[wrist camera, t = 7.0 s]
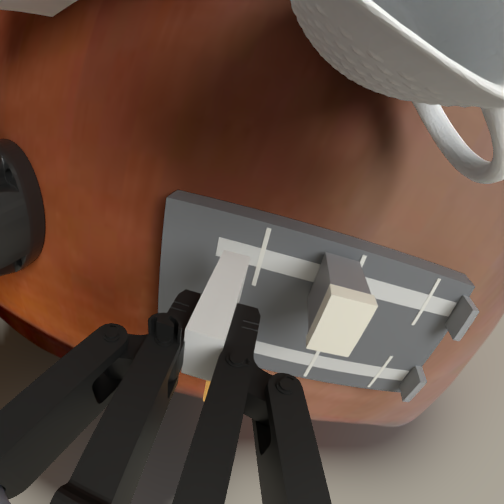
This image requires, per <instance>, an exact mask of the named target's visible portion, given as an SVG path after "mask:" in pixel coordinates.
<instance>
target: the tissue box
mask: <svg viewBox="0 0 504 504" xmlns="http://www.w3.org/2000/svg"><path fill="white" fill-rule="evenodd" d="M76 1H78V0H0V10H10V11H19V12H26V13H32V14H38V15H44V16H49V17H53V16H55V15H56V14H57V13H59V12H60V11H62V10H63V9H65V8H66V7H68V6H70V5H71V4H73V3H74V2H76Z"/></svg>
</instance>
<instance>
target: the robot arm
mask: <svg viewBox="0 0 504 504" xmlns="http://www.w3.org/2000/svg"><path fill="white" fill-rule="evenodd" d="M44 237H45V215H44V207H43V201H42V196H41V192H40V188H39V184H38V181H37V178H36V175H35V173H34V170H33V168H32V166H31V164H30V162H29V160H28V158H27V156H26V155H25V153H24V152H23V151H22V149H21V148H20V147H19V146H18V145H17V144H15V143H14V142H13V141H11V140H8V139H0V276H2V275H6V274H10V273H14V272H17V271H20V270H22V269H24V268H25V267H26V266H28V265H29V264H30V263H32V262H33V261H34V260H36V259H37V257H38V256H39V254H40V252H41V250H42V247H43V243H44ZM249 261H250V257H249V256H246V255H242V254H238V253H234V252H230V251H227V250H224V251H223V253H222V255H221V257H220V259H219V261H218V263H217V265H216V267H215V269H214V271H213V273H212V275H211V277H210V279H209V281H208V283H207V285H206V287H205V289H204V291H203V293H202V294H201V293H197V292H194V291H190V290H187V289H185V290H184V291H182V292H181V293H179V294H178V295H177V297H176V298H175V300H174V302H173V303H172V305H171V307H170V308H169V310H168V312H167V313H157V314H154V315H152V316H151V317H150V318H149V319H148V332H149V334H147V335H132V334H127V331H126V329H125V328H124V327H123V326H121V325H118V324H113V323H110V324H105V325H103V326H101V327H99V328H98V329H97V330H96V331H94V332H93V333H92V334H91V335H89V336H88V337H87V338H86V339H84V340H83V341H82V342H81V343H79V344H78V345H77V346H76V347H74V348H73V349H72V350H71V351H70V352H68V353H67V354H66V355H65V356H63V357H62V358H61V359H60V360H59V361H57V362H56V363H55V364H54V365H53V366H51V367H50V368H49V369H48V370H46V371H45V372H44V373H43V374H42V375H41V376H39V377H38V378H37V379H36V380H35V381H33V382H32V383H31V384H30V385H29V386H28V387H26V388H25V389H24V390H23V391H22V392H21V393H19V394H18V395H17V396H16V397H15V398H14V399H13V400H12V401H10V402H9V403H8V404H7V405H6V406H5V407H3V408H2V409H1V410H0V504H11V503H10V502H9V500H8V499H11V498H13V497H15V496H17V495H19V494H20V493H22V492H23V491H24V490H26V489H27V488H28V487H29V486H30V485H31V484H32V483H33V482H34V481H35V480H36V479H37V478H38V477H39V476H40V475H41V474H42V473H43V472H44V471H45V470H46V469H47V468H48V466H49V465H50V464H51V463H52V462H53V461H54V460H55V459H56V458H57V457H58V456H59V455H60V454H61V453H62V452H63V451H64V450H65V449H66V448H67V447H68V446H69V445H70V444H71V443H72V442H73V441H74V440H75V439H76V438H77V436H78V435H79V434H80V433H81V432H82V431H83V430H84V429H85V428H86V427H87V426H88V425H89V424H90V423H91V422H92V421H93V420H94V419H95V418H96V417H97V416H98V415H99V414H100V413H101V411H102V410H103V409H104V408H105V407H106V406H107V405H108V406H107V408H106V410H105V412H104V414H103V416H102V418H101V419H100V421H99V423H98V425H97V427H96V429H95V431H94V432H93V434H92V436H91V438H90V440H89V442H88V444H87V446H86V448H85V450H84V452H83V454H82V456H81V458H80V460H79V462H78V464H77V466H76V468H75V470H74V472H73V474H72V476H71V479H70V480H69V482H68V483H67V484H65V485H63V486H61V487H60V488H59V489H58V490H57V491H56V492H55V494H54V496H53V498H52V500H51V502H50V504H130V503H131V500H132V498H133V495H134V493H135V490H136V487H137V485H138V482H139V479H140V477H141V474H142V472H143V469H144V466H145V464H146V461H147V459H148V456H149V453H150V451H151V448H152V446H153V443H154V440H155V438H156V435H157V433H158V430H159V428H160V425H161V423H162V420H163V418H164V415H165V413H166V410H167V408H168V405H169V403H170V400H171V398H172V395H173V393H174V390H175V388H176V385H177V383H178V375H179V372H180V370H181V368H182V371H181V373H184V374H188V375H191V376H194V377H197V378H201V379H204V380H208V381H211V383H210V386H209V389H208V392H207V395H206V398H205V402H204V405H203V408H202V411H201V414H200V418H199V421H198V424H197V427H196V430H195V433H194V437H193V440H192V443H191V446H190V449H189V452H188V456H187V459H186V462H185V465H184V468H183V471H182V474H181V478H180V481H179V484H178V487H177V490H176V494H175V497H174V500H173V503H172V504H224V502H225V498H226V494H227V489H228V485H229V480H230V476H231V471H232V466H233V462H234V457H235V452H236V448H237V443H238V438H239V433H240V428H241V423H242V419H243V414H245V415H247V416H249V417H250V418H252V423H253V431H254V439H255V448H256V455H257V464H258V472H259V480H260V487H261V495H262V503H263V504H331V500H330V495H329V491H328V487H327V483H326V479H325V475H324V471H323V467H322V462H321V458H320V454H319V451H318V446H317V442H316V438H315V435H314V431H313V426H312V423H311V419H310V415H309V411H308V407H307V403H306V399H305V395H304V391H303V387H302V385H301V383H300V381H299V380H298V379H297V378H296V377H294V376H292V375H290V374H287V373H277V374H275V375H273V376H272V375H270V374H268V373H267V372H265V371H263V370H262V369H260V368H259V367H258V366H257V364H256V363H255V360H254V350H255V344H256V339H257V334H258V328H259V323H260V317H261V316H260V313H259V310H258V308H255V307H251V306H247V305H243V304H240V303H239V301H240V297H241V293H242V289H243V285H244V281H245V277H246V273H247V269H248V265H249Z"/></svg>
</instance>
